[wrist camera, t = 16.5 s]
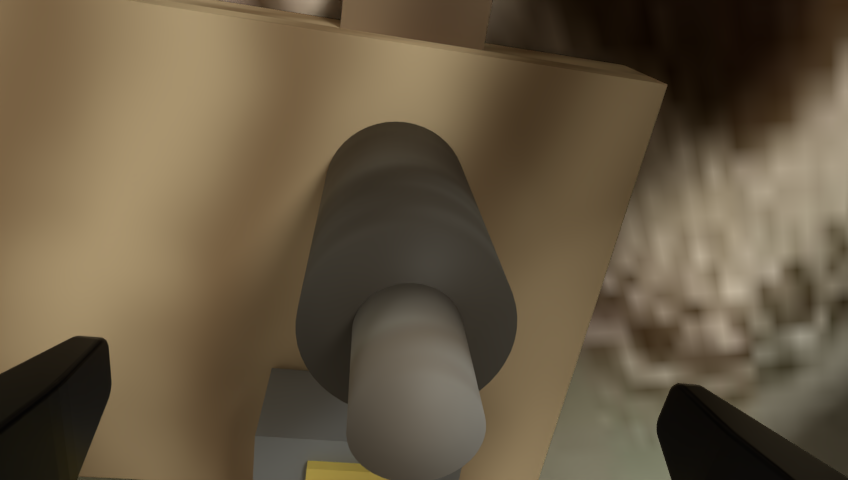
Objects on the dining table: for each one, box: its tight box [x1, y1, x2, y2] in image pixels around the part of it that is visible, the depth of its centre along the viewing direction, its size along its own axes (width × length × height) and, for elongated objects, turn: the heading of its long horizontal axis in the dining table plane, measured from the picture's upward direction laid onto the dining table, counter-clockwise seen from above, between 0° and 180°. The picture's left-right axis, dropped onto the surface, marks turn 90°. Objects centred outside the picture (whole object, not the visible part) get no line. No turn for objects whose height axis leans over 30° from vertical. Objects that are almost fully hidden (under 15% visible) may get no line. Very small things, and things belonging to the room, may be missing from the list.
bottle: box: [296, 122, 517, 480], centre depth 13 cm, size 4×4×10 cm
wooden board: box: [0, 0, 667, 480], centre depth 20 cm, size 22×19×3 cm
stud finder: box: [253, 368, 462, 480], centre depth 19 cm, size 6×4×3 cm, turn 81°
